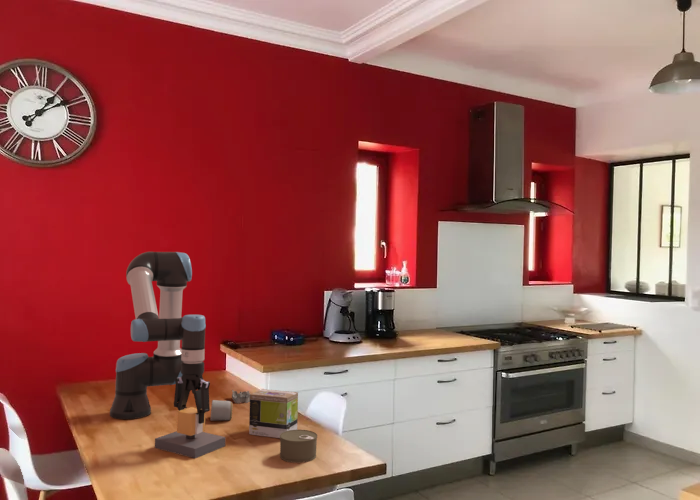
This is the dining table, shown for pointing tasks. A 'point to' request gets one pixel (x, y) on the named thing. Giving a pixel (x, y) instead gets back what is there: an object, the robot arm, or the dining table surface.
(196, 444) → the dark gray slab
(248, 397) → the egg carton
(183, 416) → the orange toy cube
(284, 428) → the tea box
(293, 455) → the can
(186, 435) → the post
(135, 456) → the dining table surface
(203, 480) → the dining table surface
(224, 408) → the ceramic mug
